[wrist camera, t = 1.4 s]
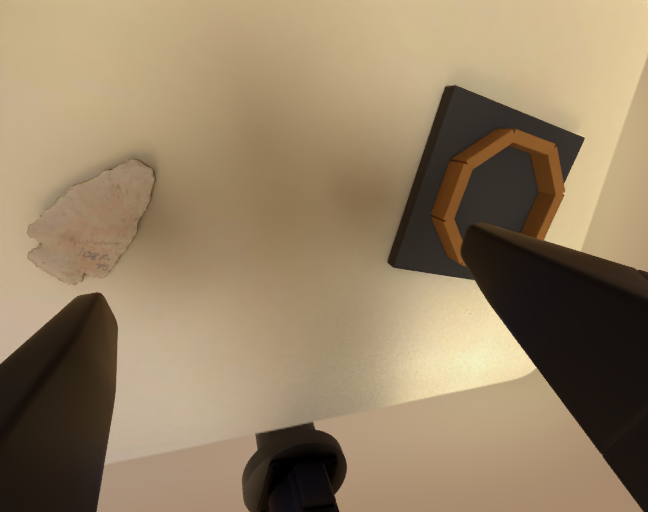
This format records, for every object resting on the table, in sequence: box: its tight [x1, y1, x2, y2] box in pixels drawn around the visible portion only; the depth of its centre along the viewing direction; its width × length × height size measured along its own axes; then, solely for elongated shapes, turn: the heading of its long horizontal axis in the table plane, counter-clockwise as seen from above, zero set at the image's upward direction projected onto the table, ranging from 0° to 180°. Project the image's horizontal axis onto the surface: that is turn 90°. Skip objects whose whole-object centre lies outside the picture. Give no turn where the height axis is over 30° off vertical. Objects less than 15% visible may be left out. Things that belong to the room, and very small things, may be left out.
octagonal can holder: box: [388, 85, 585, 280], centre depth 24 cm, size 12×12×2 cm
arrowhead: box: [27, 159, 155, 285], centre depth 18 cm, size 8×4×2 cm, turn 136°
